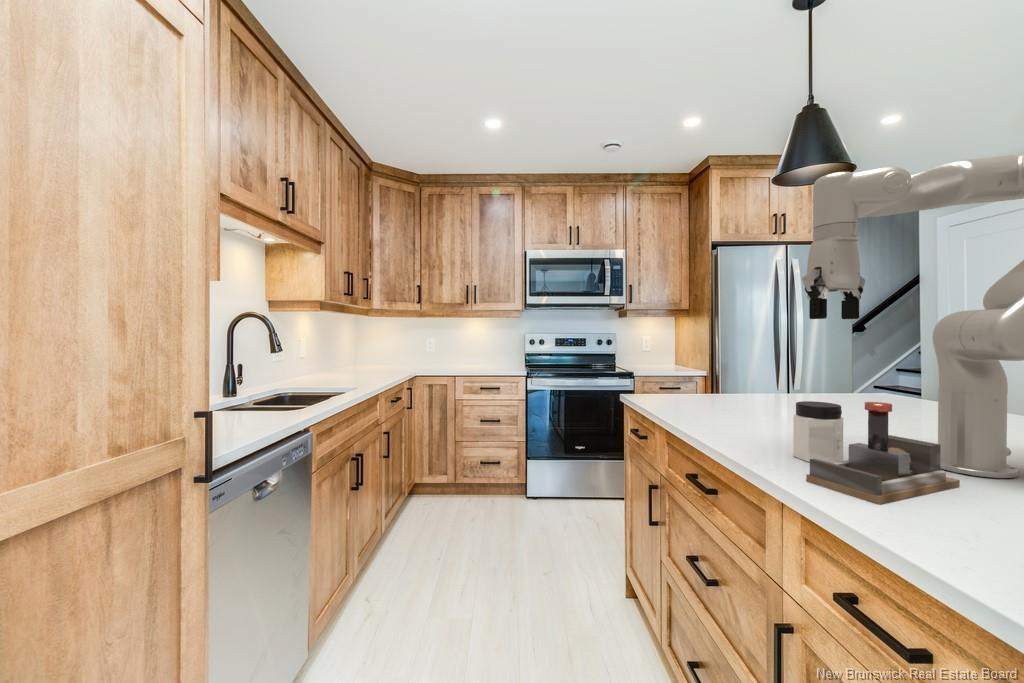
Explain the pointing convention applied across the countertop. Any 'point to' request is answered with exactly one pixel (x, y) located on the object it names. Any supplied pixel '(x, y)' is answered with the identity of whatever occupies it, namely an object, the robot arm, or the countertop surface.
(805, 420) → the jar
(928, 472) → the press base
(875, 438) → the handle
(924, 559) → the countertop surface
